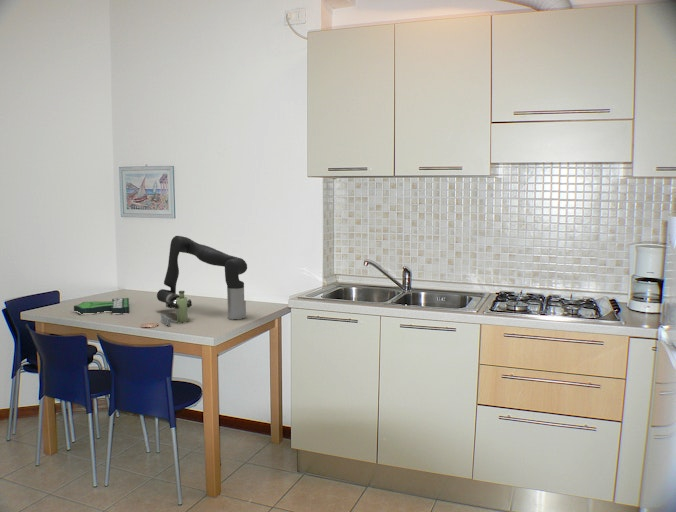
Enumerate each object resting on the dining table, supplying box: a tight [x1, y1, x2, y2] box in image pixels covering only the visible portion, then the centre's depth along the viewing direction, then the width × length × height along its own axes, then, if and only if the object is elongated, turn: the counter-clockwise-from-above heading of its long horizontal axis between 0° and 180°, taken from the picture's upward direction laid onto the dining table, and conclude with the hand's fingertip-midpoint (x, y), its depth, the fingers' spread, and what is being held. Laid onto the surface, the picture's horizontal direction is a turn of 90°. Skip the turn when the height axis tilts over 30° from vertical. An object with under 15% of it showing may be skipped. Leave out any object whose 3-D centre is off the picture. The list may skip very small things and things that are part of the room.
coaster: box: [139, 322, 159, 328], centre depth 296 cm, size 9×9×1 cm
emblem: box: [73, 297, 130, 314], centre depth 333 cm, size 30×4×30 cm
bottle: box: [176, 290, 189, 323], centre depth 304 cm, size 6×6×17 cm
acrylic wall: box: [160, 313, 171, 327], centre depth 300 cm, size 1×14×4 cm, turn 32°
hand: (183, 306), depth 302 cm, fingers closed on bottle, 5 cm apart
